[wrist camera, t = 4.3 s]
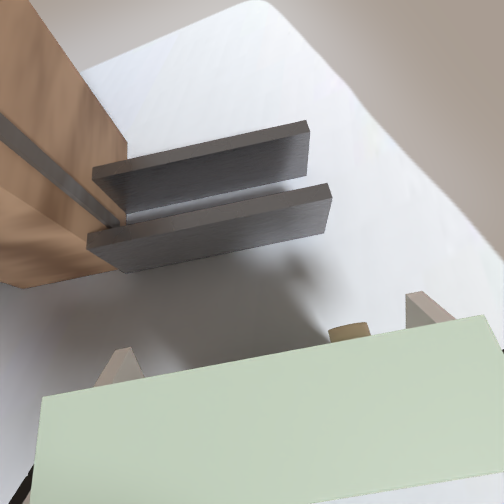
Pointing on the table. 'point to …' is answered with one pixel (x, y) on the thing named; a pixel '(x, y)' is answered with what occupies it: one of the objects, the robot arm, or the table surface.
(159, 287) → the table surface
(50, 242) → the walnut cabinet
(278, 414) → the cabinet door
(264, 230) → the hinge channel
